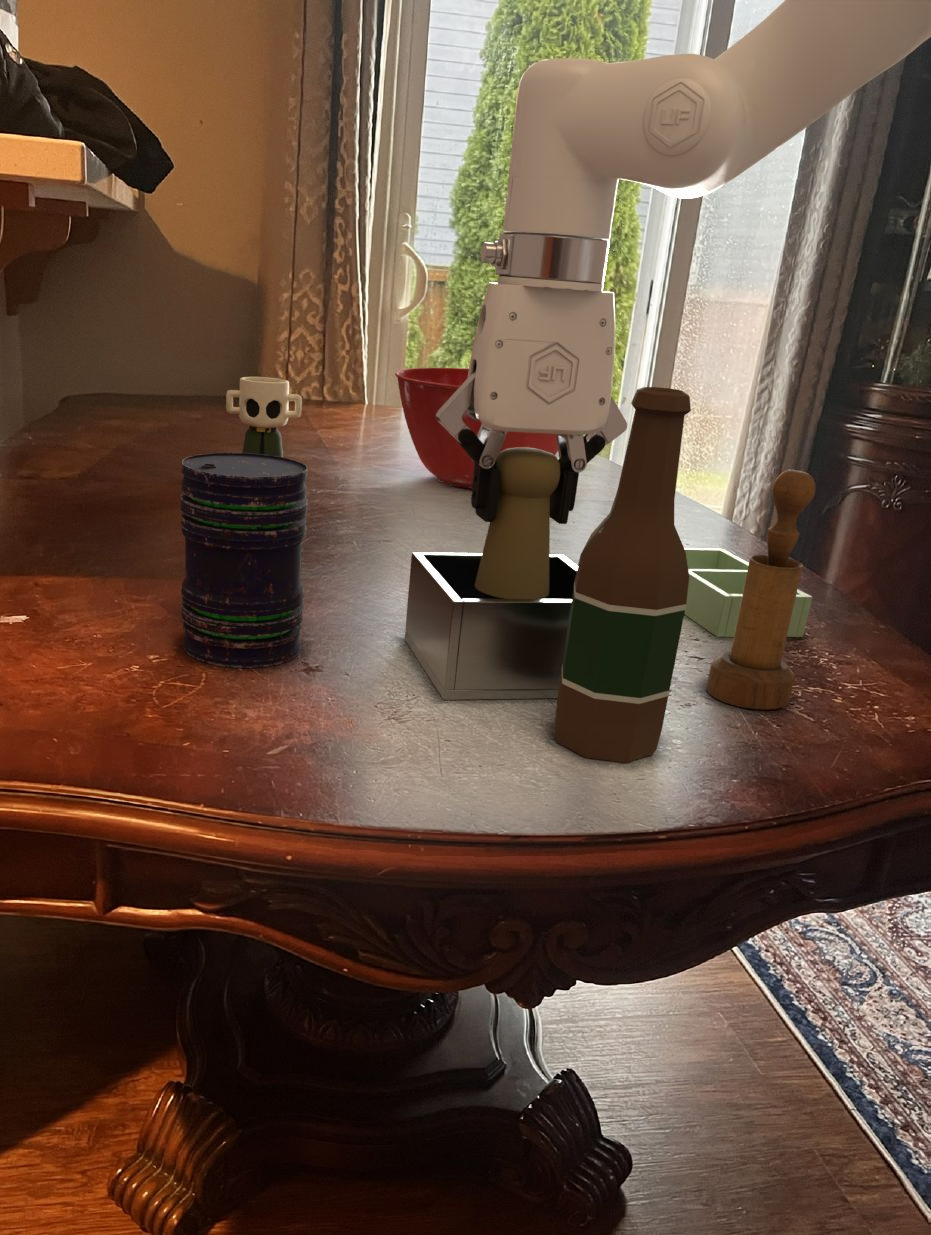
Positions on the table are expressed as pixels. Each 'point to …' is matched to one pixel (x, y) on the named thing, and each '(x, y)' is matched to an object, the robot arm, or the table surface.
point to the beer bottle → (629, 598)
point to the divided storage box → (727, 592)
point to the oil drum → (242, 558)
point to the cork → (520, 526)
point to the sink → (486, 630)
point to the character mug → (263, 412)
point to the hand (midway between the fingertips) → (520, 516)
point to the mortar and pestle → (766, 610)
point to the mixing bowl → (431, 440)
